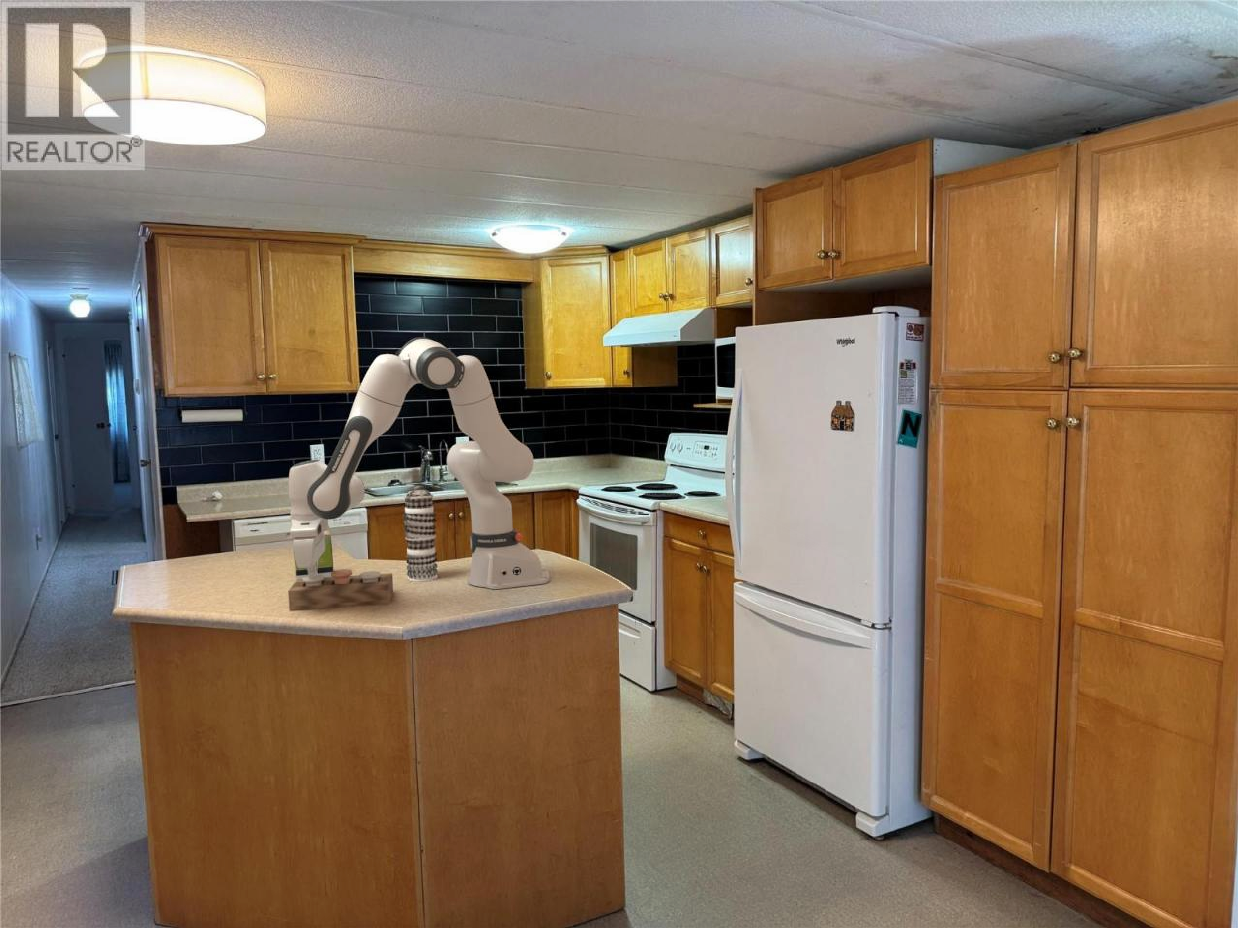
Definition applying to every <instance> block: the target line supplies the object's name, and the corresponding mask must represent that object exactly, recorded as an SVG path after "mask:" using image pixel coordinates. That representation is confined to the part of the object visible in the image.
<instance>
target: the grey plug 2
mask: <svg viewBox="0 0 1238 928" xmlns="http://www.w3.org/2000/svg"><path fill="white" fill-rule="evenodd" d="M380 574H381V572H380V571H376V570H375V571H365V572H362V573H359V574H358V575H359V576H360V579H363V583H367V582H378V578H379V577H380V576H381V575H380Z"/></svg>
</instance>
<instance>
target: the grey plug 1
mask: <svg viewBox="0 0 1238 928" xmlns="http://www.w3.org/2000/svg"><path fill="white" fill-rule="evenodd" d="M302 579H303V582H304V583H306V586H320V585H322V582H321V581H323V580H324V576H323V575H317V576H316V578H314V579H309V578H308V576H305V577H303V578H302Z"/></svg>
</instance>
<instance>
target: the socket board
mask: <svg viewBox="0 0 1238 928" xmlns="http://www.w3.org/2000/svg"><path fill="white" fill-rule="evenodd" d="M359 575H360V574H357V575H350V584H336V585H335V584H334V577H324V580H323V581H321V582H322V585H320V586H306V583H304V582H303V579H298V580H297V581H295V582H294V583H293V584H292V585H291V587H290V588H289V590H288V592H287V593H288V605H289V607H288V608H289V611H304V610H305V611H306V610H318V609H320V610H321V609H330V608H331V609H332V608H345V607H347V608H348V607H362V606H374V605H375V606H376V605H389V604H390V603H391V599H392V596H393V593H394V581H393V573H391V572H390V573H380V575H381V576H380V577H379V578H378V582H367V583H363V579H360V576H359Z"/></svg>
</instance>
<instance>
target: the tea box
mask: <svg viewBox="0 0 1238 928" xmlns="http://www.w3.org/2000/svg"><path fill="white" fill-rule="evenodd" d="M324 538H325V551H324V553H323V554H322V555H321V556H320V558H319V559H318V569H317V571H318V575H323V576H324V577H332V576H331V572H332V571H334V559H333V558H334V557H333V546H332V536H331V531H330V525H329V524H328V530H326V531H324ZM293 539H294V538H292V540H293ZM292 544H293V543H292ZM293 546H294V544H293ZM293 555H294V556H293V557H294V566H295V567H294V568H295V578H296V581H297V580H298V579H302V578H303V577H305V576H308V571H307V568H298V566H297V564H296V559H295V552H294V551H293ZM296 581H295V582H296Z"/></svg>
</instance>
